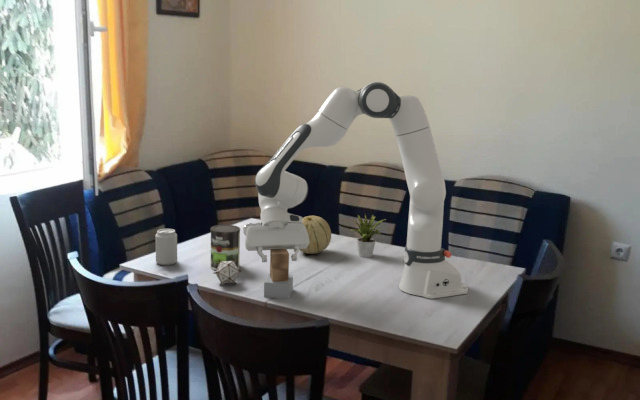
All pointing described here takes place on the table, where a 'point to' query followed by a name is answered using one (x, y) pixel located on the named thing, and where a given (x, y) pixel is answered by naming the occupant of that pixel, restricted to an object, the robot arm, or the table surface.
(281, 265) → the walnut block
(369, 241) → the house plant
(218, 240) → the coffee can
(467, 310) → the table surface
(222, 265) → the game die
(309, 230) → the cantaloupe
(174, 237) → the can
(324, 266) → the table surface
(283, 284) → the base block
